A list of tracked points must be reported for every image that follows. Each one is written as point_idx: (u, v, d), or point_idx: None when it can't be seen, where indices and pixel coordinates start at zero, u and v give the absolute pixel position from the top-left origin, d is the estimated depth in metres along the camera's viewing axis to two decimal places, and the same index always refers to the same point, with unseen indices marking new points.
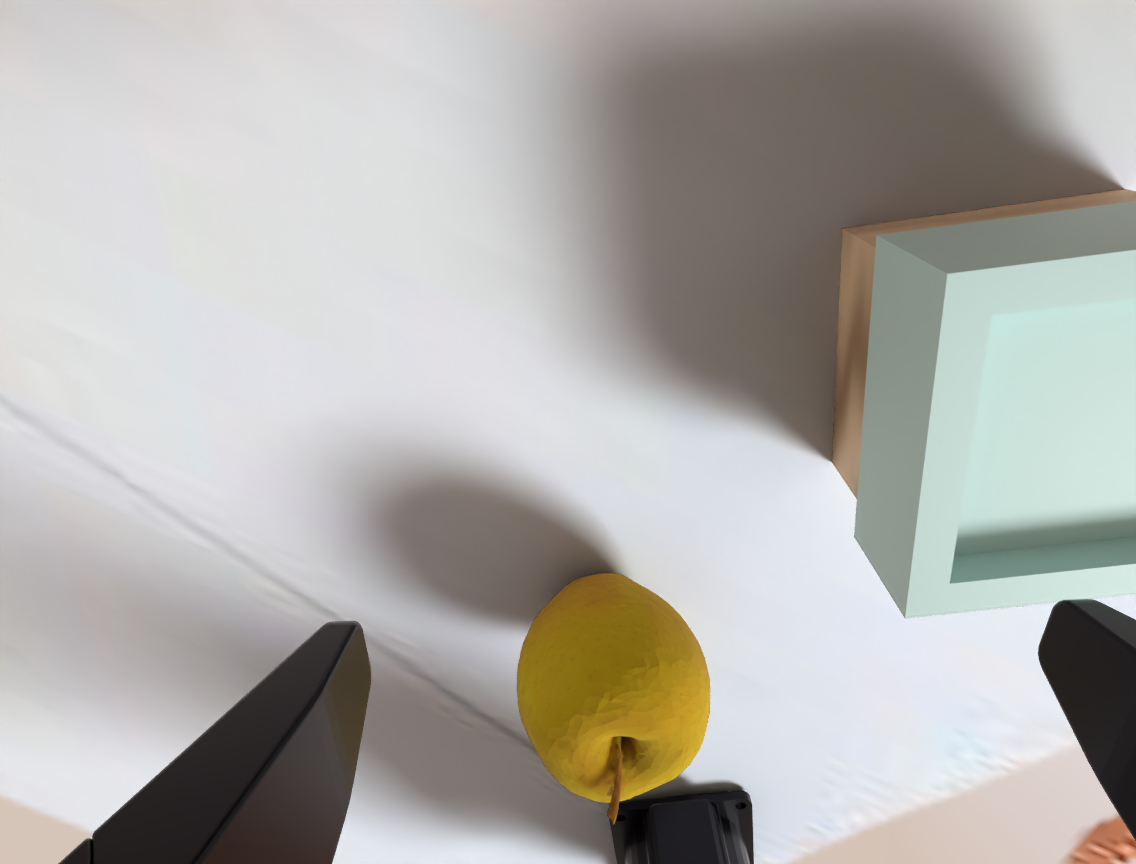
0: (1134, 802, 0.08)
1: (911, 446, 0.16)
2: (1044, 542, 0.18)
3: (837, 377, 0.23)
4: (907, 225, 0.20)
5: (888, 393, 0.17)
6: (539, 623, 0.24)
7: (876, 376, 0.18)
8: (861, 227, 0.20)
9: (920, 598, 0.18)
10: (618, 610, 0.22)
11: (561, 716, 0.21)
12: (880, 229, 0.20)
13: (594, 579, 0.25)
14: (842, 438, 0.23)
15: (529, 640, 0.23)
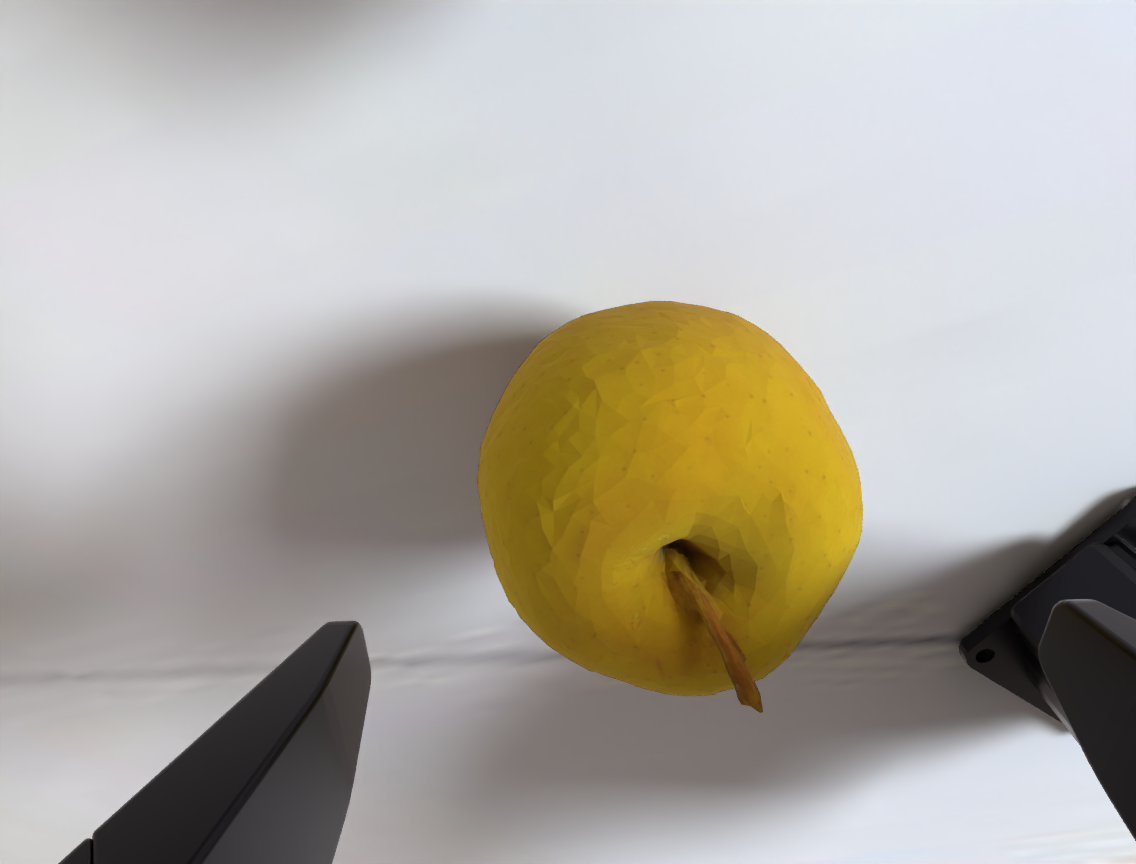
0: (1134, 802, 0.08)
1: None
2: None
3: None
4: None
5: None
6: None
7: None
8: None
9: None
10: (523, 368, 0.11)
11: (529, 594, 0.10)
12: None
13: None
14: None
15: None
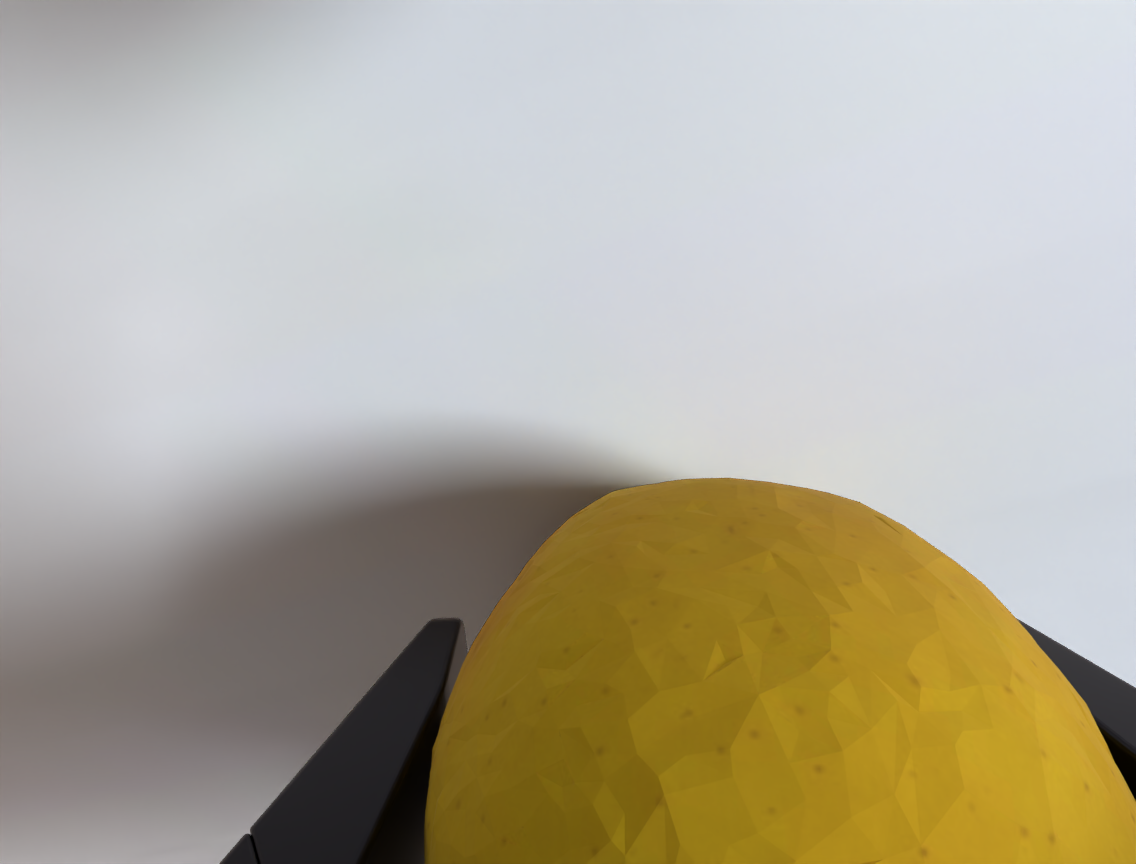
0: None
1: None
2: None
3: None
4: None
5: None
6: None
7: None
8: None
9: None
10: (507, 638, 0.06)
11: None
12: None
13: None
14: None
15: None
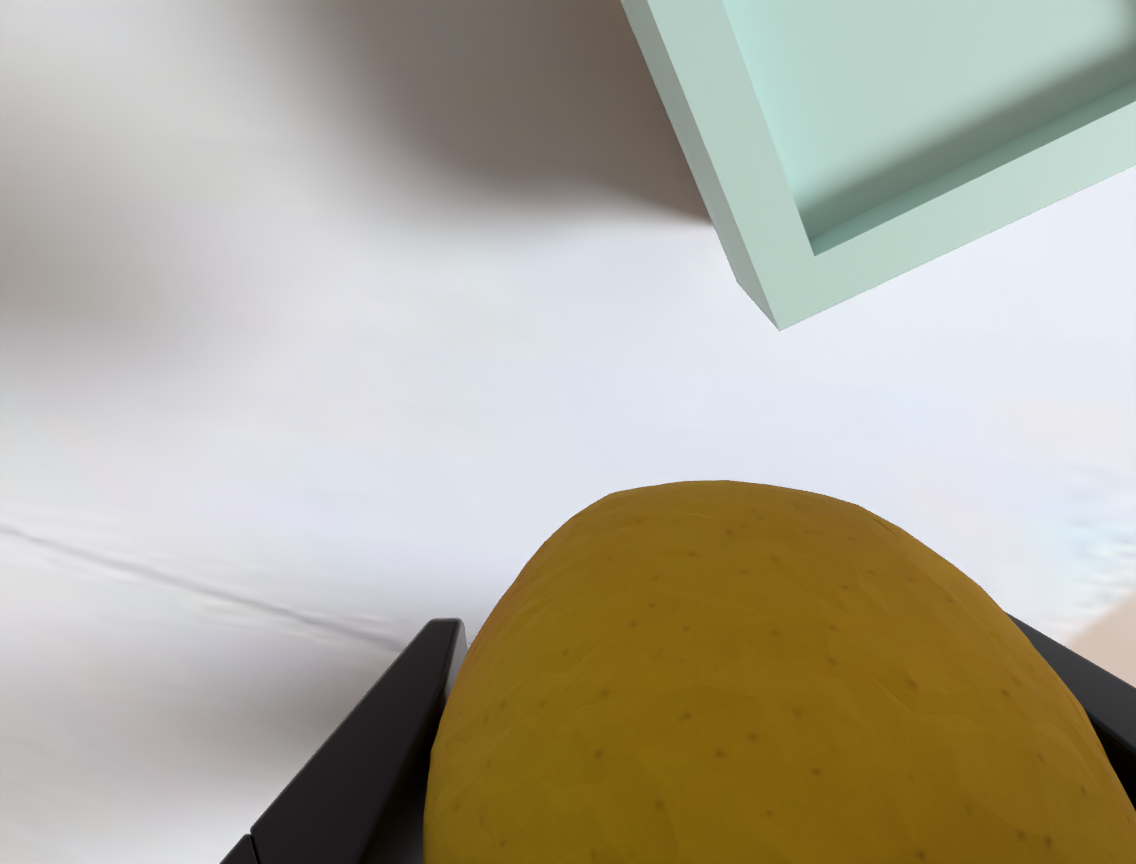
0: None
1: (670, 73, 0.12)
2: (951, 162, 0.12)
3: None
4: None
5: (642, 33, 0.13)
6: None
7: (636, 30, 0.13)
8: None
9: (785, 293, 0.13)
10: (506, 642, 0.06)
11: None
12: None
13: None
14: None
15: None
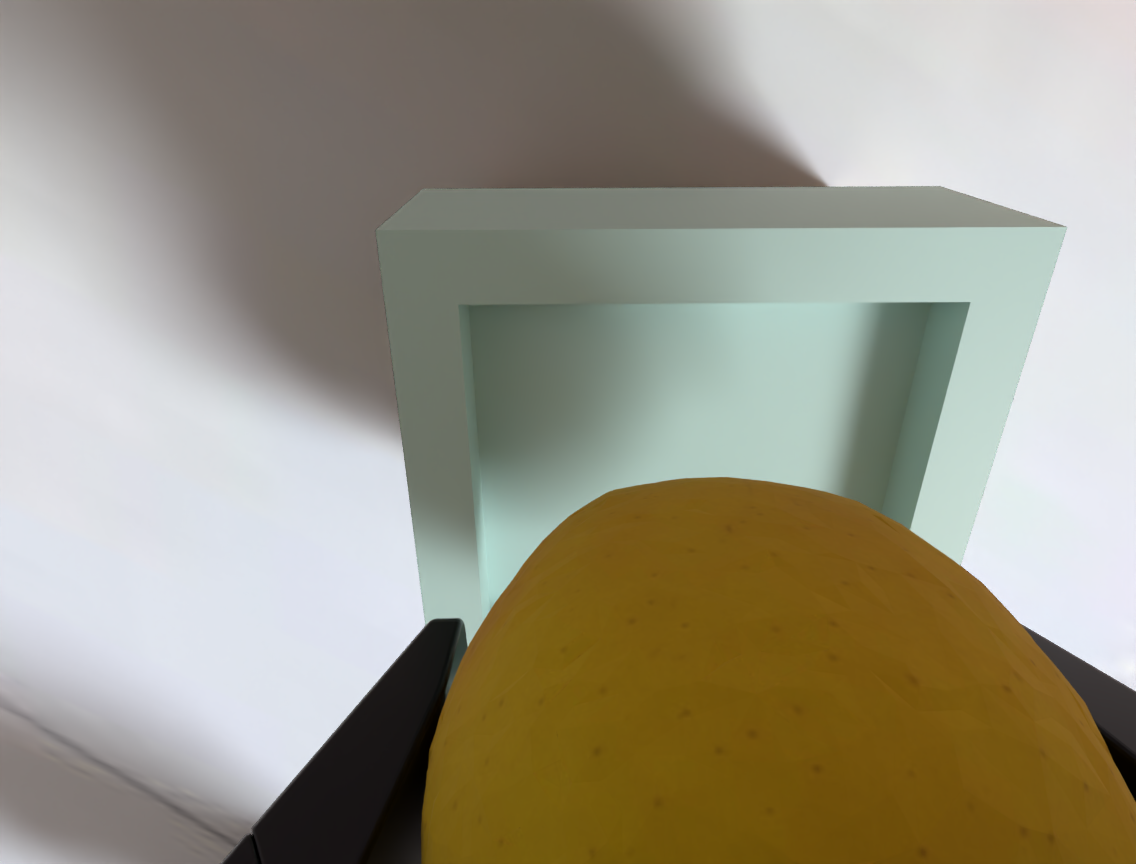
0: None
1: None
2: None
3: None
4: None
5: None
6: None
7: None
8: None
9: None
10: (505, 639, 0.06)
11: None
12: None
13: None
14: None
15: None
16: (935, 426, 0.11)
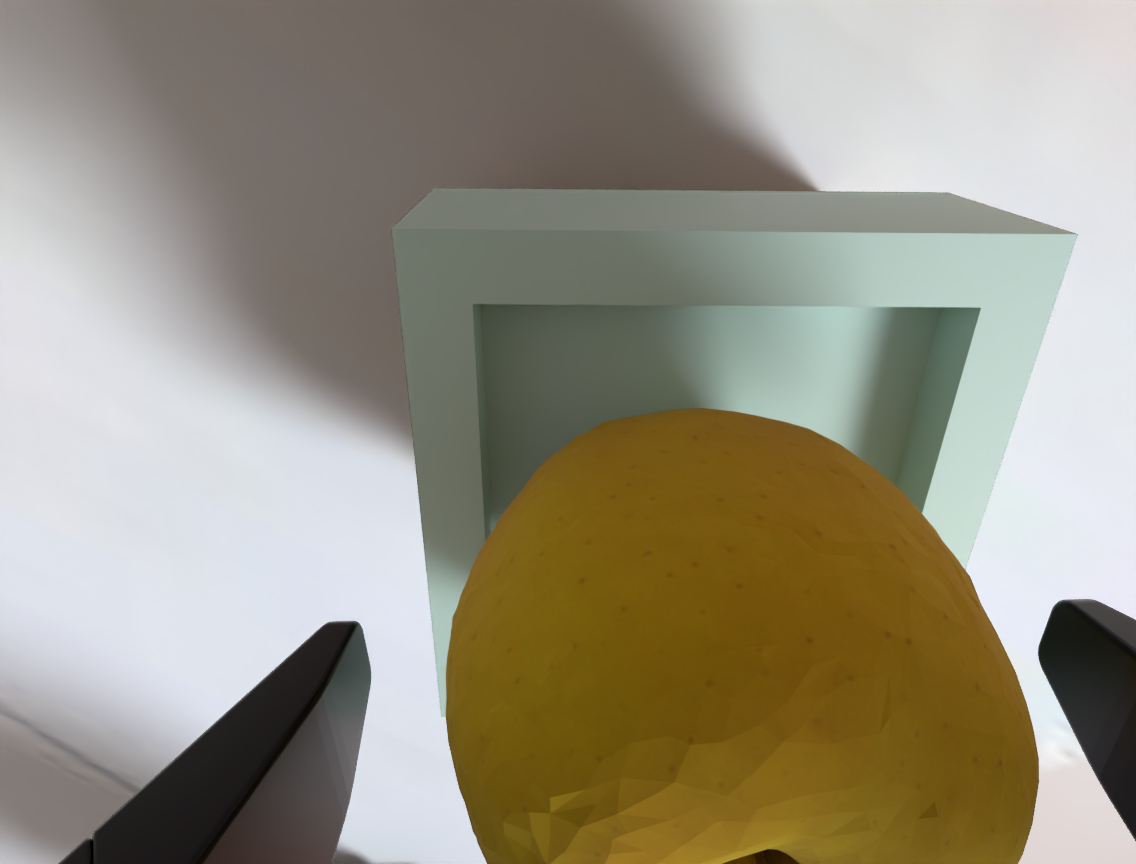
0: (1134, 802, 0.08)
1: None
2: None
3: None
4: None
5: None
6: None
7: None
8: None
9: None
10: (515, 521, 0.08)
11: None
12: None
13: None
14: None
15: None
16: (943, 430, 0.11)
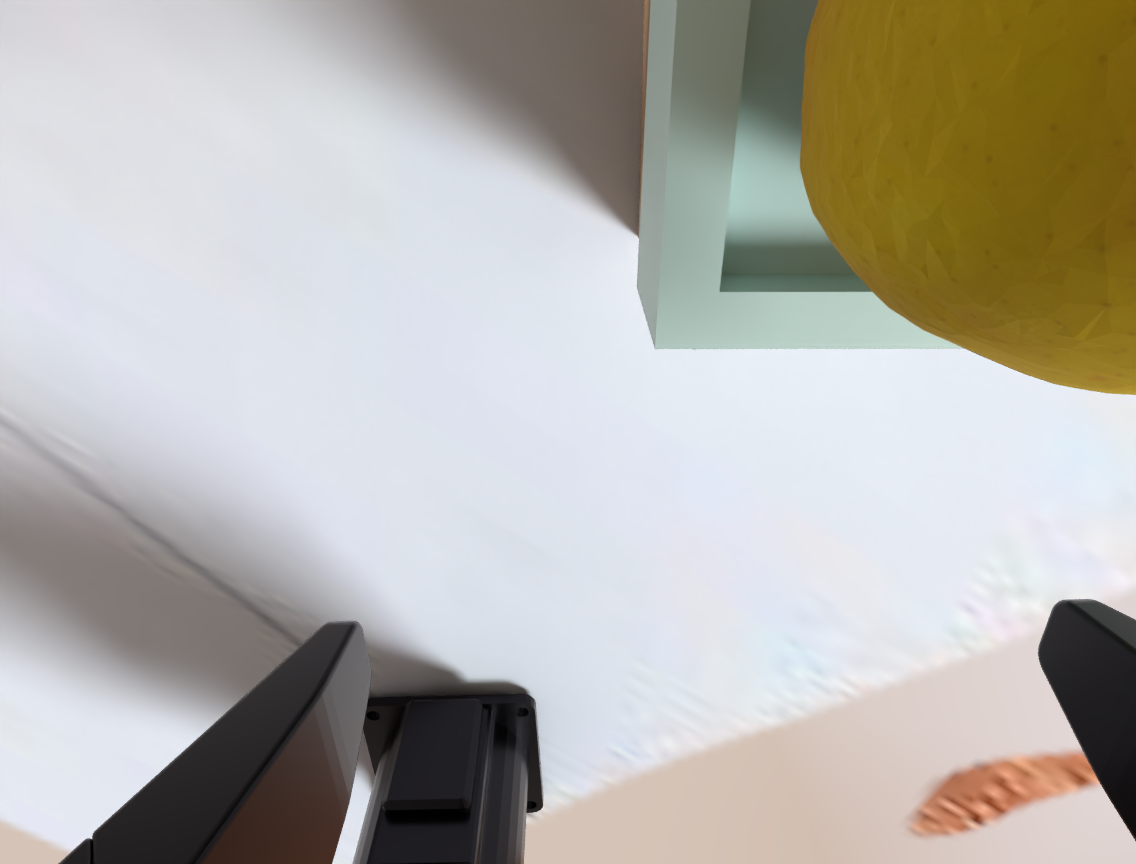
0: (1134, 802, 0.08)
1: (669, 32, 0.10)
2: None
3: (642, 97, 0.17)
4: None
5: None
6: (803, 118, 0.08)
7: None
8: None
9: (677, 315, 0.12)
10: None
11: (1057, 127, 0.05)
12: None
13: None
14: None
15: (809, 161, 0.08)
16: None
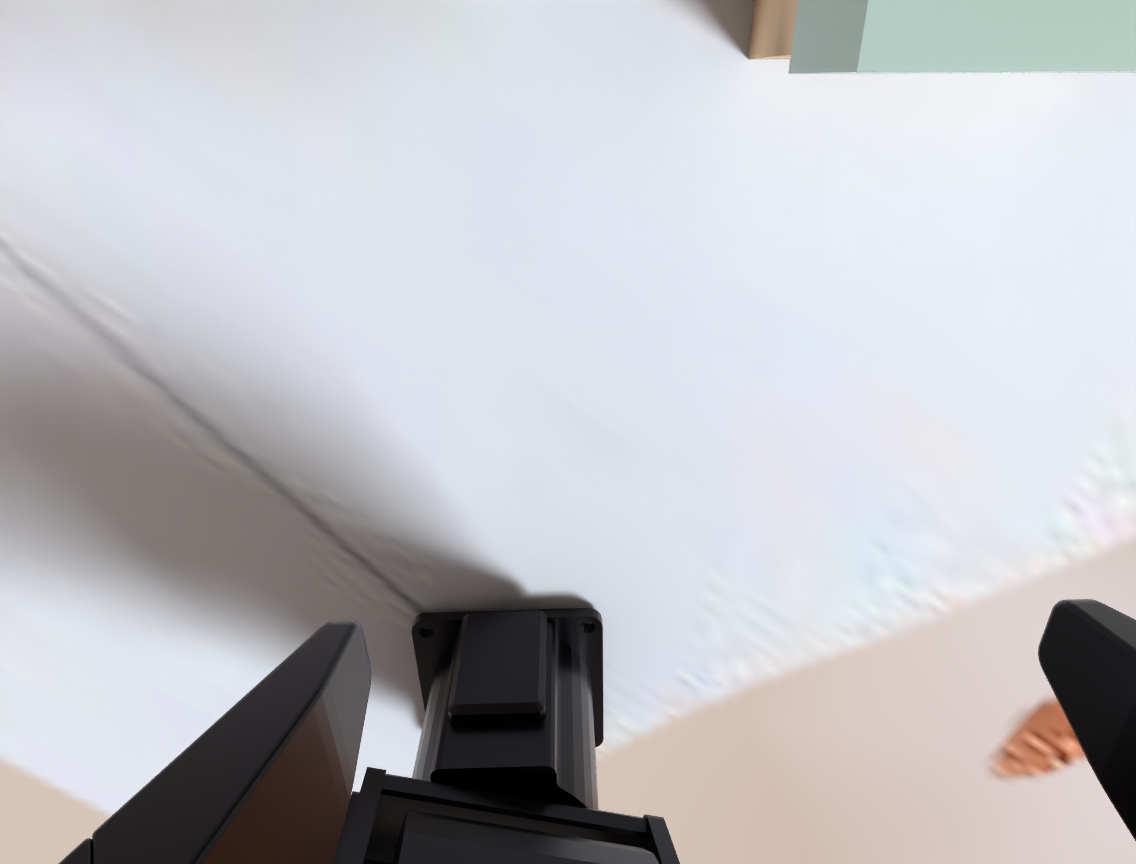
0: (1134, 802, 0.08)
1: None
2: None
3: None
4: None
5: None
6: None
7: None
8: None
9: (887, 25, 0.10)
10: None
11: None
12: None
13: None
14: None
15: None
16: None
